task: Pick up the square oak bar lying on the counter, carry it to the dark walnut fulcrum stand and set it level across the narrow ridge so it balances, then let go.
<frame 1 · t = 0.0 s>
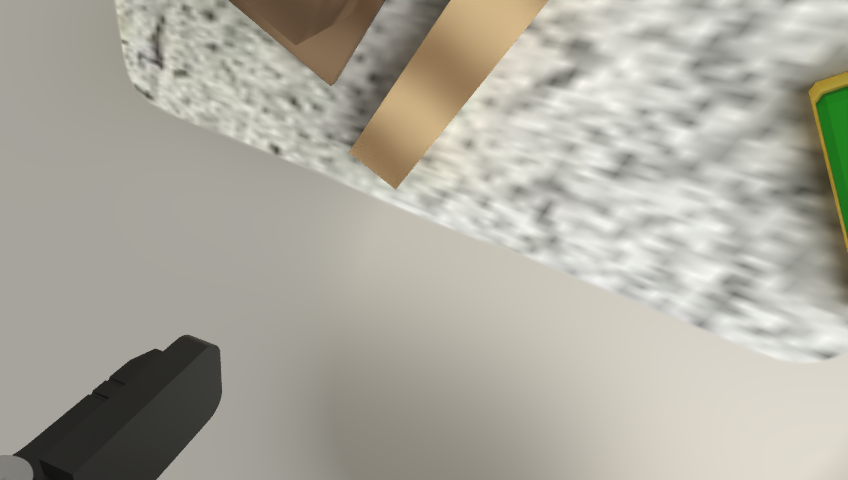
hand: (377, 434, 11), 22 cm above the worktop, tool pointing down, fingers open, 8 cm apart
oak rod: (466, 48, 29), on the worktop
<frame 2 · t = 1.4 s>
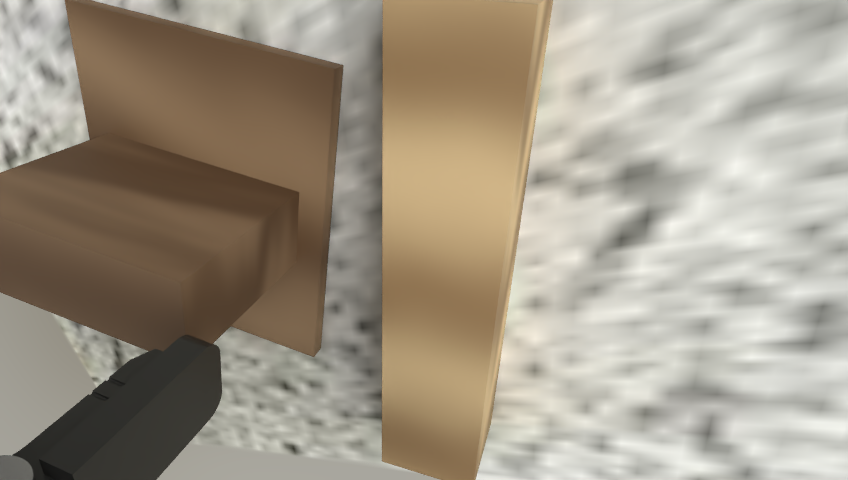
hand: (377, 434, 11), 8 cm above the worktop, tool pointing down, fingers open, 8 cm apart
oak rod: (466, 242, 18), on the worktop
walnut fulcrum: (213, 191, 21), on the worktop
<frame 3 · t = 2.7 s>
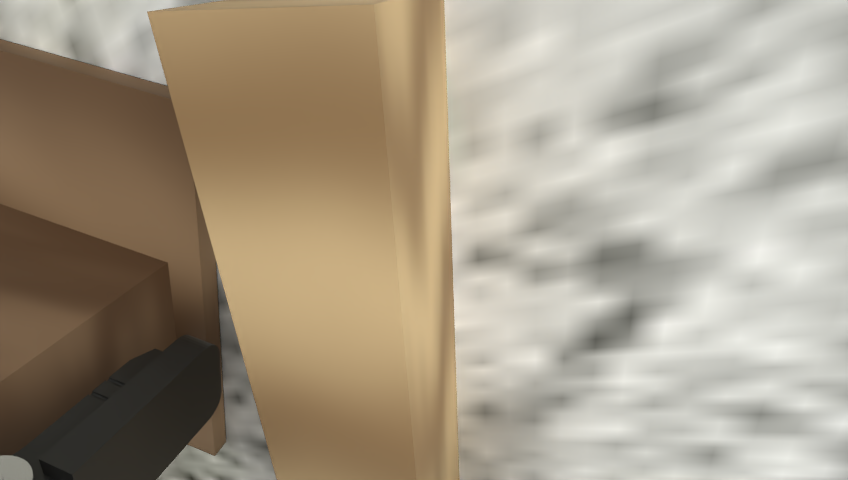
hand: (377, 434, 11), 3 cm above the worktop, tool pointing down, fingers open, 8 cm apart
oak rod: (392, 329, 14), on the worktop
walnut fulcrum: (71, 253, 16), on the worktop
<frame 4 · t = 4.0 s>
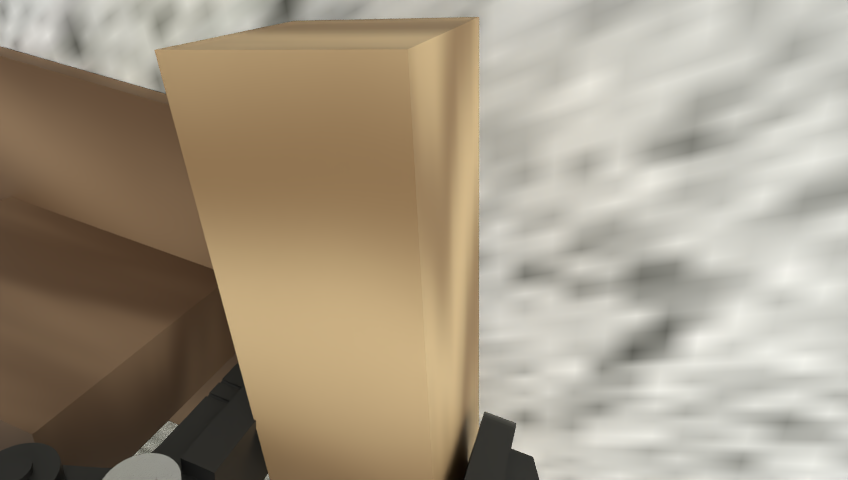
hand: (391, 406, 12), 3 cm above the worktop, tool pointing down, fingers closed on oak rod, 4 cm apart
oak rod: (408, 371, 13), point 2 cm above the worktop, touching gripper
walnut fulcrum: (136, 266, 17), on the worktop
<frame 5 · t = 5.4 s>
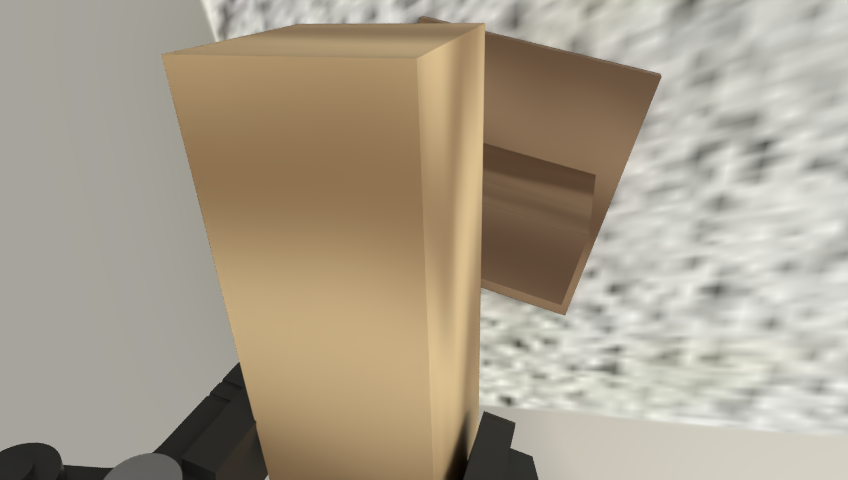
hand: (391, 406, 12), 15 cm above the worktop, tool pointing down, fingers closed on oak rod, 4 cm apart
oak rod: (409, 373, 13), point 14 cm above the worktop, touching gripper
walnut fulcrum: (501, 175, 25), on the worktop
when the fingers open (8 cm above the worktop, at t = 7.3 s): oak rod stays where it is, resting on walnut fulcrum.
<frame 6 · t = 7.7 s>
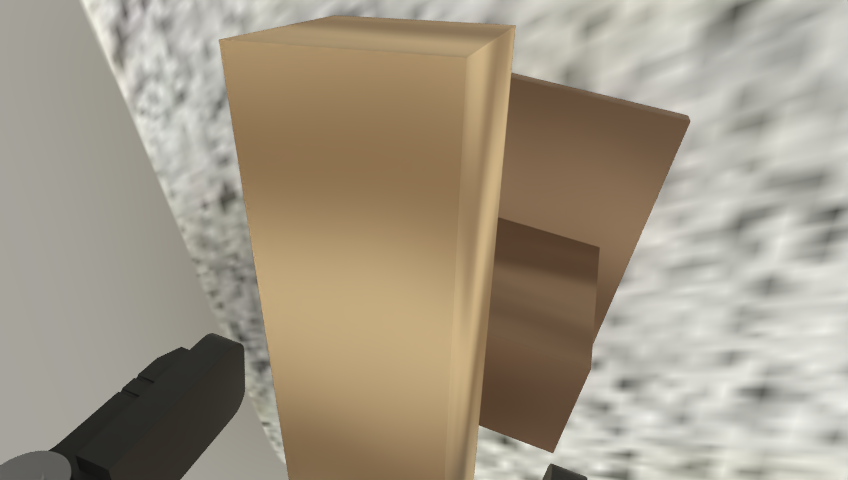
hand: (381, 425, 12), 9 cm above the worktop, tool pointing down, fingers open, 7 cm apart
oak rod: (416, 356, 14), point 7 cm above the worktop, touching walnut fulcrum
walnut fulcrum: (475, 241, 19), on the worktop
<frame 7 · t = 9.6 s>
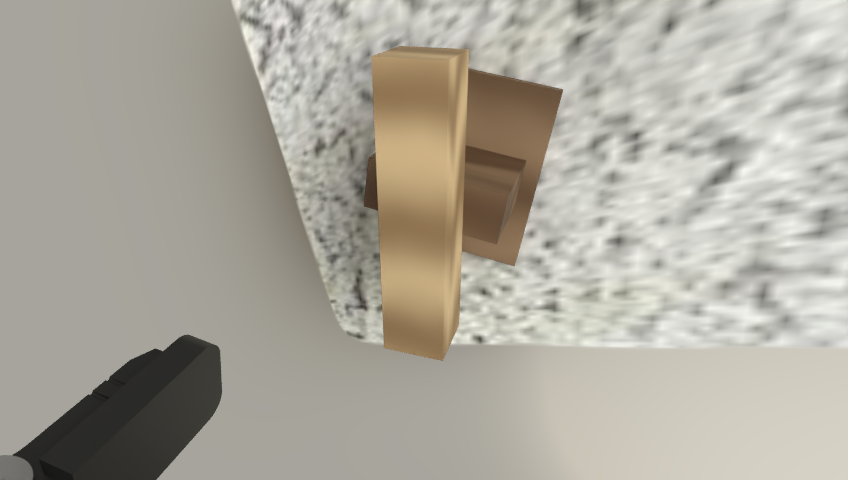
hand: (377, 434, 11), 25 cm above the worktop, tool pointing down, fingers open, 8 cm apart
oak rod: (432, 200, 29), point 7 cm above the worktop, touching walnut fulcrum
walnut fulcrum: (462, 163, 35), on the worktop
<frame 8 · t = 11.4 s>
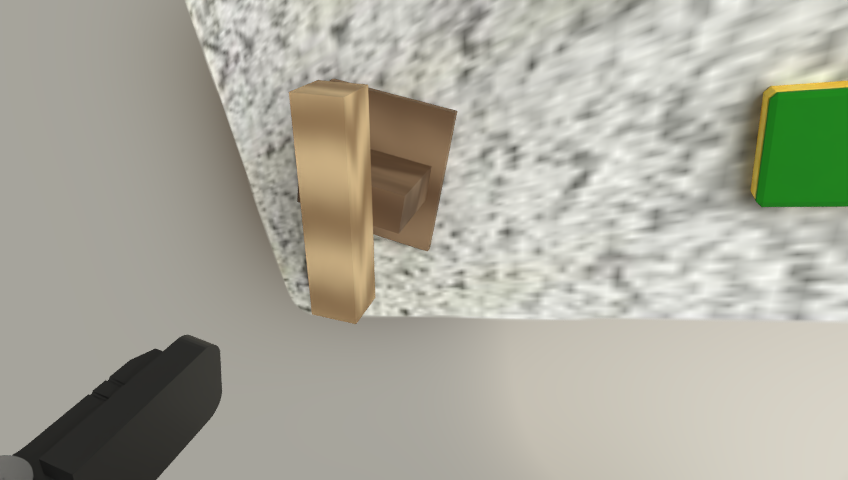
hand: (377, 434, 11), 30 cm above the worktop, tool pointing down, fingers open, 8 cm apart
oak rod: (349, 198, 37), point 7 cm above the worktop, touching walnut fulcrum
walnut fulcrum: (384, 167, 43), on the worktop
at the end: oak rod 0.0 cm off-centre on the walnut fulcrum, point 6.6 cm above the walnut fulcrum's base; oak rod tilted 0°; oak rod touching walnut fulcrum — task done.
